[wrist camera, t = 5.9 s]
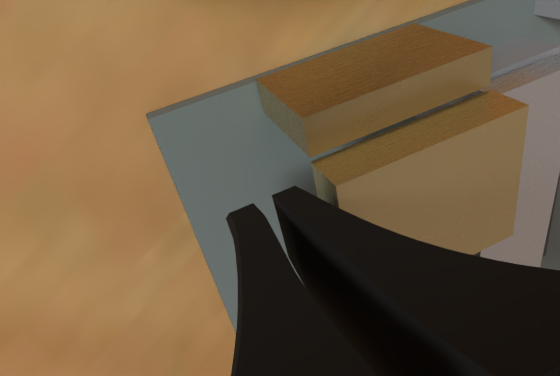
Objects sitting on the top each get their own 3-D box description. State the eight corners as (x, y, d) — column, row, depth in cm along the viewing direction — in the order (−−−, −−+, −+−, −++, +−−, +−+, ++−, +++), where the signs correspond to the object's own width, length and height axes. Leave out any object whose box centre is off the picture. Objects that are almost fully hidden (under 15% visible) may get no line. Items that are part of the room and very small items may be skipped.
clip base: (571, 277, 25) (634, 321, 22) (277, 433, 21) (309, 510, 19) (653, -70, 15) (783, -68, 13) (142, 107, 12) (166, 165, 9)
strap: (501, 337, 22) (529, 363, 21) (450, 365, 21) (474, 394, 20) (545, 50, 13) (595, 64, 12) (462, 82, 13) (506, 101, 12)
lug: (419, 168, 16) (512, 235, 13) (291, 224, 15) (356, 312, 12) (414, 23, 13) (534, 58, 10) (255, 79, 12) (328, 140, 9)
